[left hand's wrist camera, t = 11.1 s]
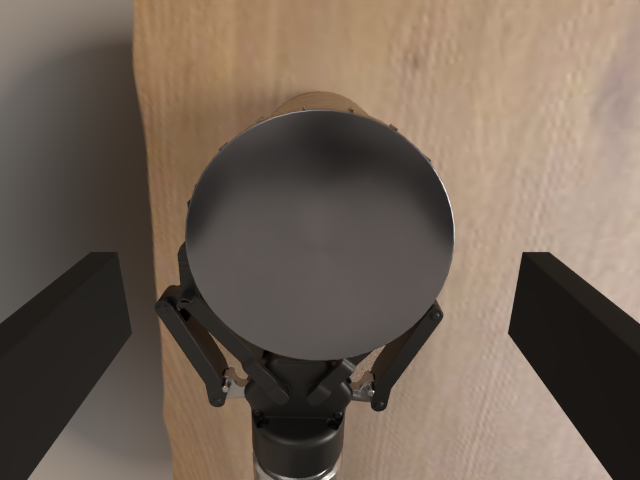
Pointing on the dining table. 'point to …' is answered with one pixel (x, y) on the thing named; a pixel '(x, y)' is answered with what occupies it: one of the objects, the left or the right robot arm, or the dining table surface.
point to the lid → (319, 233)
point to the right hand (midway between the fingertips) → (301, 199)
